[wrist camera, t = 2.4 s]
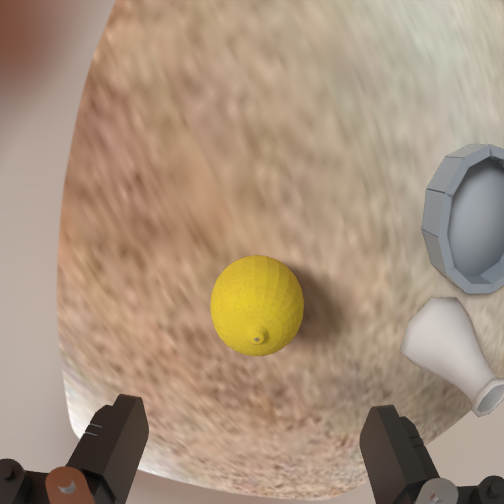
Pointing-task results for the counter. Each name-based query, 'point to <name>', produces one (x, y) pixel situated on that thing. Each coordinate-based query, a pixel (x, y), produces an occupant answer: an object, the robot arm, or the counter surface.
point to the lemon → (257, 305)
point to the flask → (452, 352)
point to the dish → (467, 218)
